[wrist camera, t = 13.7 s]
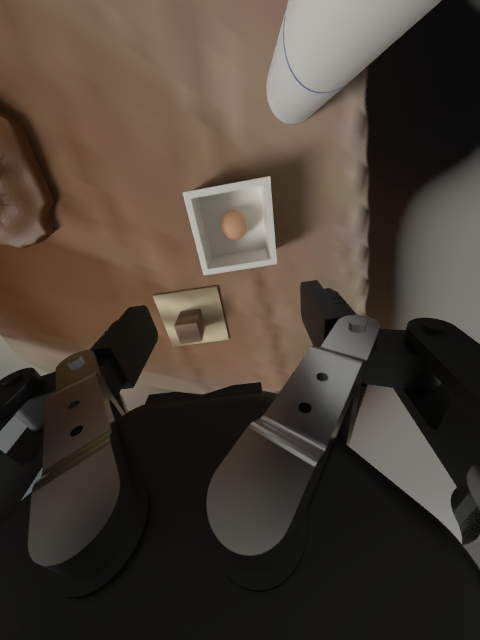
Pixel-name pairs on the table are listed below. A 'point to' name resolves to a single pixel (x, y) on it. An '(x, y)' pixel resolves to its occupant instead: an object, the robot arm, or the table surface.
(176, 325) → the oak lid
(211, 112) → the table surface
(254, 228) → the off-white box
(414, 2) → the cylindrical container
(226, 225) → the terracotta ball
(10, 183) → the plant
